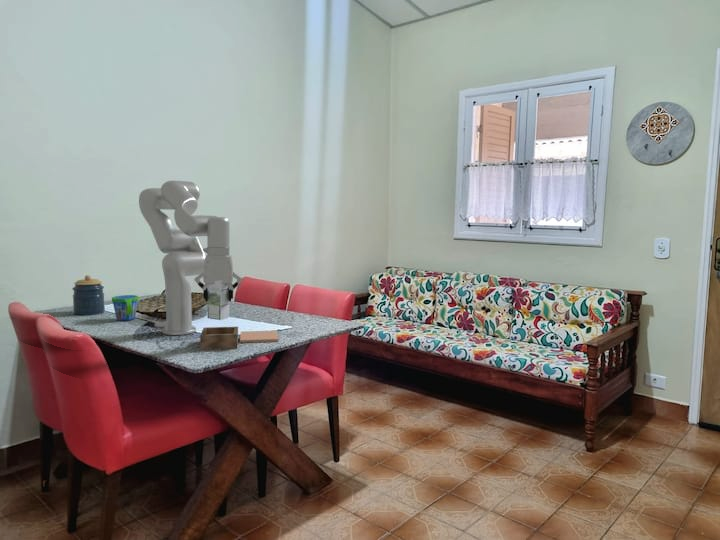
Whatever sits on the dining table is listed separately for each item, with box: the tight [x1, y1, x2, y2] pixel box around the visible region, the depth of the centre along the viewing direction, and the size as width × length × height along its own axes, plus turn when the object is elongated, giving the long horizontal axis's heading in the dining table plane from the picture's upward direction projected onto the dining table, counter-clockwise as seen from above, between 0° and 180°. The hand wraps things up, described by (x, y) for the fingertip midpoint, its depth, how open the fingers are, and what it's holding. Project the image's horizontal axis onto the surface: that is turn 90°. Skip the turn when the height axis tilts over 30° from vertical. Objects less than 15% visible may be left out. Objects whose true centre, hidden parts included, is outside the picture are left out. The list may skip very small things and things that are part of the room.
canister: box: [71, 274, 106, 316], centre depth 234 cm, size 13×13×18 cm
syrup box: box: [206, 280, 230, 321], centre depth 182 cm, size 6×6×14 cm
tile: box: [239, 329, 279, 344], centre depth 194 cm, size 14×14×1 cm
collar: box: [199, 326, 239, 350], centre depth 183 cm, size 12×12×5 cm
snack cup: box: [111, 294, 139, 322], centre depth 221 cm, size 16×10×10 cm
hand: (218, 300), depth 182 cm, fingers closed on syrup box, 7 cm apart
